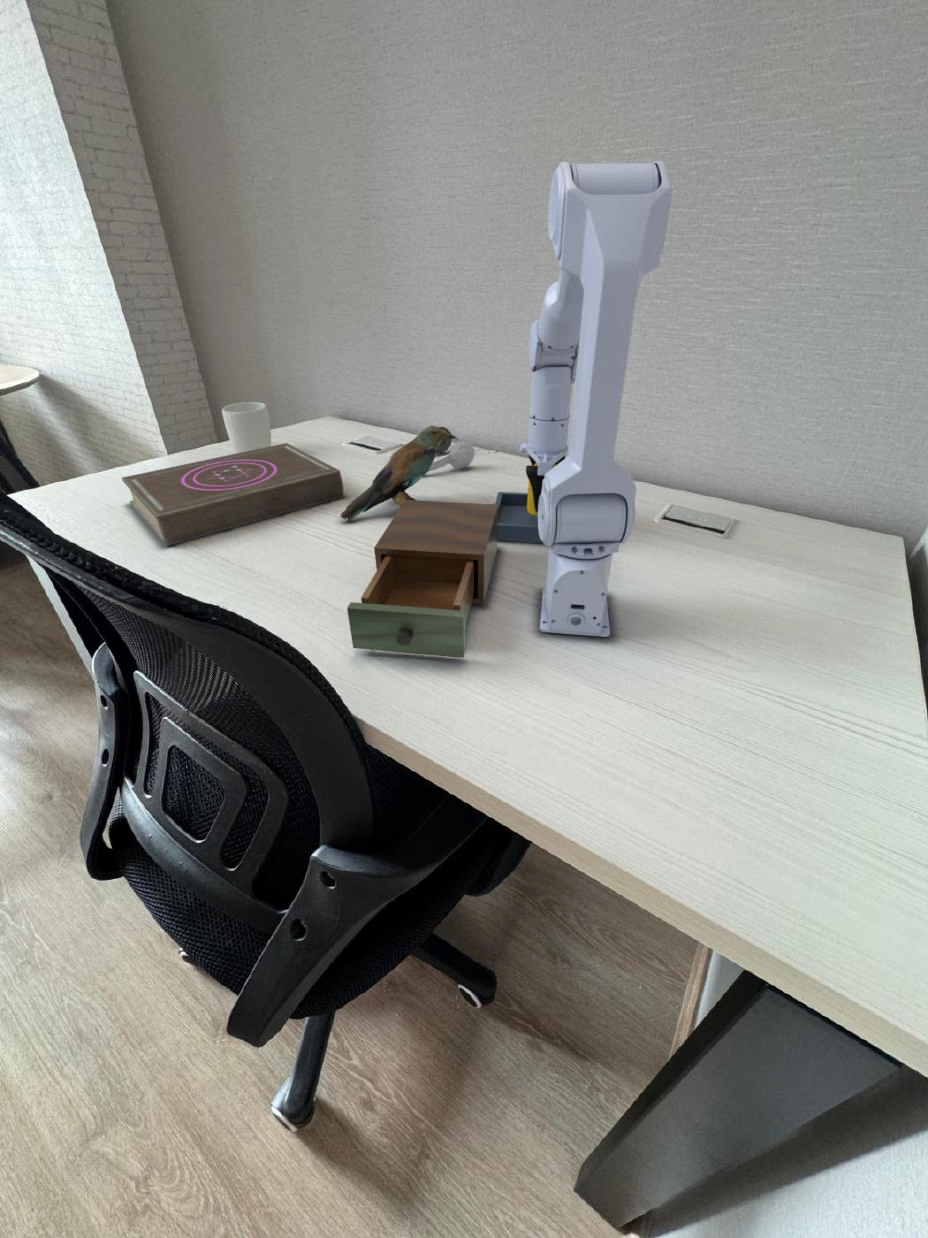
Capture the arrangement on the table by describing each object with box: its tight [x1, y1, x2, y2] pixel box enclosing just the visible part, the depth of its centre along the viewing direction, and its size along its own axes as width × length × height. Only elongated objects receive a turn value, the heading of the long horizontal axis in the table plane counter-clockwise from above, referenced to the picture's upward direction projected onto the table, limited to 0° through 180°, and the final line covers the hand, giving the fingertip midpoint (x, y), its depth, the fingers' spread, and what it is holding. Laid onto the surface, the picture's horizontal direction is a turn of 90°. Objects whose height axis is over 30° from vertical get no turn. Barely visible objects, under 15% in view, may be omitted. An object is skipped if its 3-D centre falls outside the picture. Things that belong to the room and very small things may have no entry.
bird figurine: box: [339, 425, 459, 523], centre depth 93 cm, size 13×10×20 cm
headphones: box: [389, 426, 502, 472], centre depth 114 cm, size 17×6×20 cm
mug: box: [221, 401, 272, 454], centre depth 121 cm, size 13×9×10 cm
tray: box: [494, 491, 544, 544], centre depth 90 cm, size 14×16×3 cm
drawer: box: [346, 554, 476, 659], centre depth 65 cm, size 16×12×5 cm
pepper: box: [527, 463, 556, 516], centre depth 87 cm, size 5×5×9 cm
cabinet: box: [373, 499, 498, 606], centre depth 76 cm, size 16×14×7 cm
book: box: [121, 442, 344, 547], centre depth 99 cm, size 30×22×5 cm
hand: (543, 504), depth 89 cm, fingers closed on pepper, 5 cm apart
